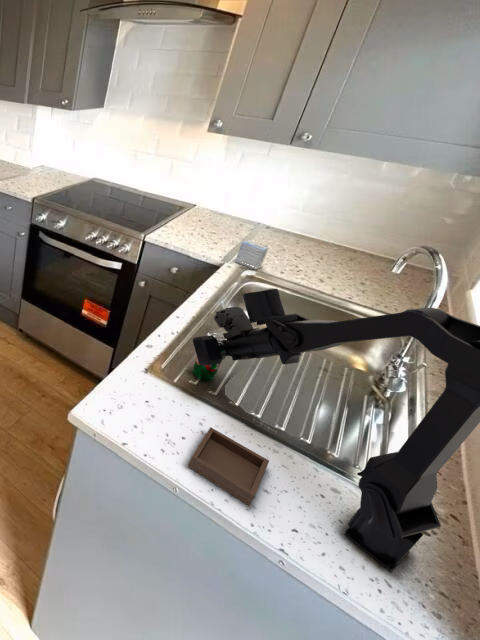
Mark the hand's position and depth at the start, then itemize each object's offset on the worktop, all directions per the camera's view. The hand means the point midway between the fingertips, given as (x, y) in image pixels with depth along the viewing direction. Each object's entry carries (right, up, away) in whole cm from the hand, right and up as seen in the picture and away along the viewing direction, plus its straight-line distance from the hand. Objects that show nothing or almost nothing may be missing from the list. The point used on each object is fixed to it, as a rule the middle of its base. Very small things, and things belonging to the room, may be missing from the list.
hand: (206, 351), depth 103 cm
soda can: (0, -7, +2) cm, 7 cm away
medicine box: (+50, +19, +62) cm, 82 cm away
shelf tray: (-8, -18, -22) cm, 29 cm away
